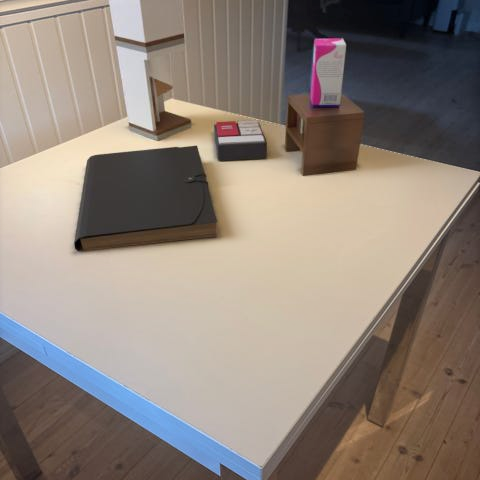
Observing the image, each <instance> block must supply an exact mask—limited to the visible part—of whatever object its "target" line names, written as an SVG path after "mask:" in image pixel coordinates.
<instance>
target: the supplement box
mask: <svg viewBox="0 0 480 480" xmlns="http://www.w3.org/2000/svg"><path fill="white" fill-rule="evenodd" d="M346 52H347V43H346V41H345V40H344V38H343V37H340V38H339V37H338V38H336V37H334V38H331V37H330V38H314V42H313V55H312V56H313V57H312V71H311V84H310V93H311V96H310V99H311V105H312V108H313V107H314V108H315V107H340V99H341V93H342V90H343V80H344V72H345V71H344V69H345V63H346V62H345V61H346Z"/></svg>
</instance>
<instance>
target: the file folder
mask: <svg viewBox="0 0 480 480" xmlns="http://www.w3.org/2000/svg"><path fill="white" fill-rule="evenodd" d="M202 162H203V161H202V158H201V155H200V150H199V147H198V145H187V146H170V147H162V148H151V149H150V148H149V149H140V150H129V151H119V152H110V153H101V154H100V153H99V154H93V155H90V156H89V157H88V159H87V160H86V164H85V171H84V176H83V177H84V178H83V185H82V191H81V196H80V203H79V208H78V216H77V222H76V228H75V233H74V240H73V245H74V250H76V251H77V252H80V247H81V246H82V250H83V251H87V250H88V251H90V250H102V249H109V248H118V247H127V246H128V247H129V246H138V245H146V244H147V245H148V244H157V243H165V242H166V243H167V242H175V241H185V240H193V239H201V238H202V239H204V238H215V237H217V236H218V235H217V234H218V232H217V231H218V230H217V223H218V219H217V215H216V211H215V208H214V205H213V200H212V196H211V193H210V188H209V182H208V181H207V174H206V173H205V170H204V166H203V163H202Z"/></svg>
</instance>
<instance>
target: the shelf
mask: <svg viewBox="0 0 480 480" xmlns="http://www.w3.org/2000/svg"><path fill="white" fill-rule="evenodd" d="M310 96H311V92H310V93H299V94H298V93H297V94H287V97H286V114H285V134H284V135H285V136H284V138H285V139H284V151H285V152H295V151H296V152H297V151H301V153H302V154H301V158H302V159H301V169H300V174H301V176H312V175H321V174H329V173H330V174H331V173H339V172H348V171H356V170H357V165H358V161H359V155H360V147H361V141H362V135H363V128H364V122H365V121H364V120H365V115H366V114H365V111H364V110H363V109H361V108H360V107H359V106H358V105H357V104H356V103H355V102H354V101H353V100H351V99H350V98H349V97H347V96H346V95H345V94H344V93H343V92H341V99H340V107H315V108H314V107H313V108H312V105H311V99H310Z"/></svg>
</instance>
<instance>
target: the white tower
mask: <svg viewBox="0 0 480 480" xmlns="http://www.w3.org/2000/svg"><path fill="white" fill-rule="evenodd" d="M182 2H183V1H182V0H108V4H109V5H108V6H109V10H110V17H111V22H112V23H111V24H112V29H113V35H114V42H115V48H116V54H117V61H118V67H119V72H120V78H121V85H122V91H123V97H124V103H125V110H126V116H127V122H128V127H129V131H131V132H132V133H135V134H139V135H141V136H143V137H146V138H149V139H152V140H154V141H157V142H159V141H161V140H163V139H166V138H169V137H172V136H173V135H176V134H179V133H181V132H184V131H186V130H189V129H192V120H191V118H189V117H184V116H181V115H179V114H175V113H173V112H170V111H167V110H166V108H165V99H164V98H165V97H164V94H166V93H168V92H170V91H172V90H173V89H174V83H173V73H172V63H171V61H172V60H171V54H175V53H179V52H183V51H186V43H185V41H186V40H185V29H184V28H185V27H184V15H183V5H182V4H183V3H182Z"/></svg>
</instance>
